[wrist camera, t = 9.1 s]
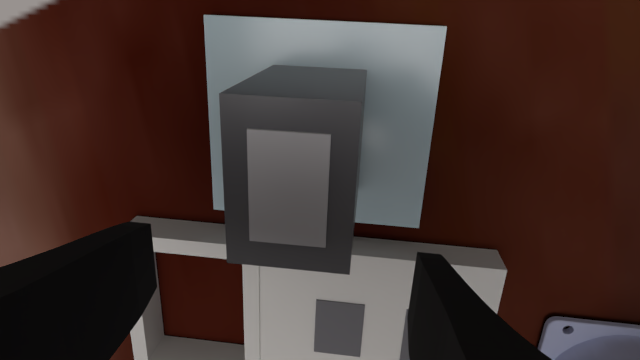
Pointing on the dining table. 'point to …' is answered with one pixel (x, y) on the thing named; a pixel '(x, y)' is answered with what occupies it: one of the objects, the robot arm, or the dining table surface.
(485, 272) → the power strip
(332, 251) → the block
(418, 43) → the tile
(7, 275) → the robot arm
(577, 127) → the dining table surface
